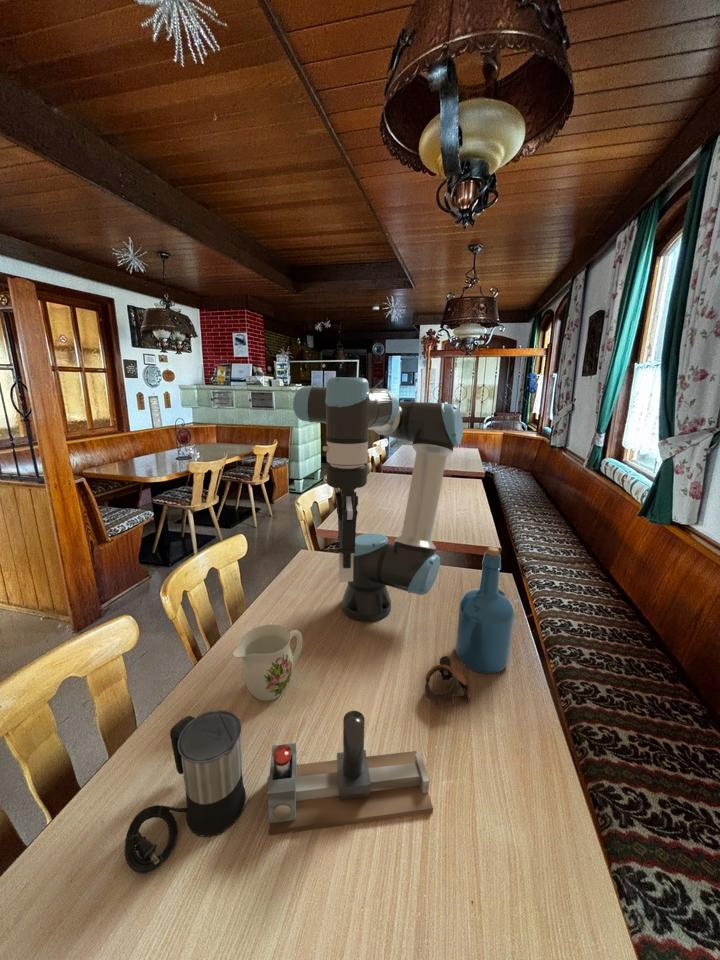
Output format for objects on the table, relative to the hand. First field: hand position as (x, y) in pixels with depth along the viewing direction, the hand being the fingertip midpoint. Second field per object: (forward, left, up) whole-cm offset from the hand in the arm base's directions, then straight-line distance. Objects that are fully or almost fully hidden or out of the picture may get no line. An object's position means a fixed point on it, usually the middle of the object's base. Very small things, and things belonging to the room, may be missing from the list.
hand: (345, 579), depth 76 cm
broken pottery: (0, +23, -30) cm, 38 cm away
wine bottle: (-10, +36, -30) cm, 48 cm away
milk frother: (+21, -26, -30) cm, 45 cm away
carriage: (+19, -1, -28) cm, 34 cm away
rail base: (+19, -1, -29) cm, 35 cm away
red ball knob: (+19, -12, -25) cm, 33 cm away
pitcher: (-6, -16, -30) cm, 34 cm away
